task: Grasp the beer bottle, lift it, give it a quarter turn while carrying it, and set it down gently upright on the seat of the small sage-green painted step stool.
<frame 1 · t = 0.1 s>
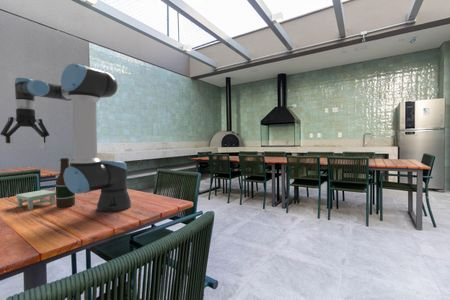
hand: (27, 149, 121), 28 cm above the table, fingers open, 13 cm apart
stool: (36, 205, 116), on the table
beer bottle: (65, 206, 116), on the table
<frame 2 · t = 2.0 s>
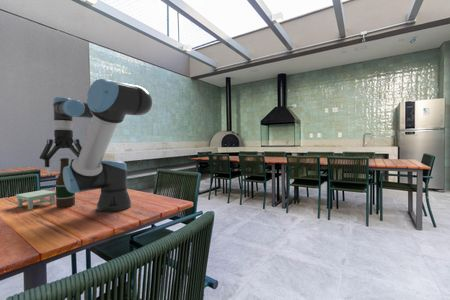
hand: (64, 172, 115), 17 cm above the table, fingers open, 13 cm apart
nothing on the table moved.
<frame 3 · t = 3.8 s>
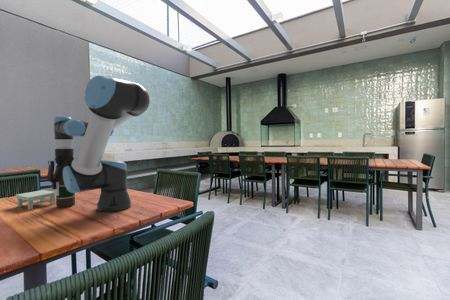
hand: (65, 193, 115), 6 cm above the table, fingers closed on beer bottle, 7 cm apart
beer bottle: (65, 206, 116), on the table, touching gripper
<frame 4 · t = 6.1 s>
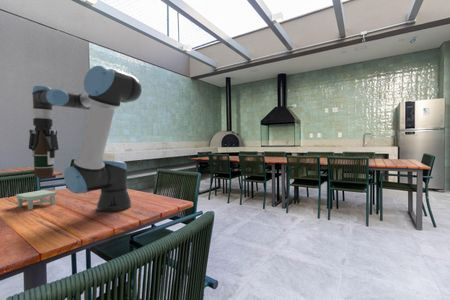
hand: (43, 163, 116), 21 cm above the table, fingers closed on beer bottle, 7 cm apart
beer bottle: (44, 176, 116), point 15 cm above the table, touching gripper
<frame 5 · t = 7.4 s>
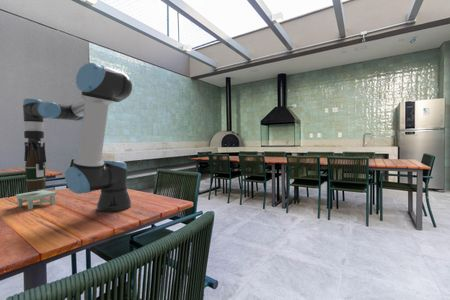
hand: (35, 176, 116), 15 cm above the table, fingers closed on beer bottle, 7 cm apart
beer bottle: (36, 188, 116), point 9 cm above the table, touching gripper
when the fingers open (14 cm above the table, at t = 8.4 s): beer bottle drops 1 cm, resting on stool.
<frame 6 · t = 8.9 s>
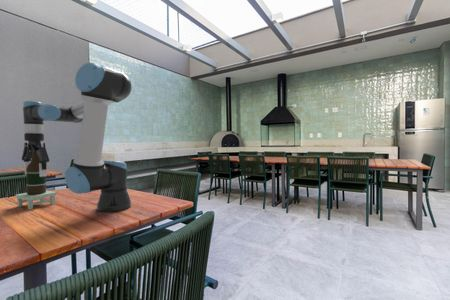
hand: (35, 175, 116), 15 cm above the table, fingers open, 13 cm apart
beer bottle: (36, 193, 116), point 6 cm above the table, touching stool
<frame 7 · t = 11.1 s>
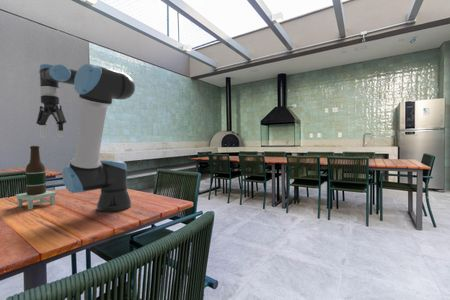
hand: (51, 137, 119), 34 cm above the table, fingers open, 13 cm apart
nothing on the table moved.
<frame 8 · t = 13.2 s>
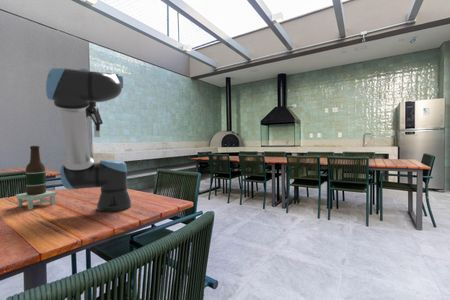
hand: (89, 136, 132), 35 cm above the table, fingers open, 13 cm apart
nothing on the table moved.
at the end: beer bottle inside the target area on the stool (0.0 cm from its centre), point 5.8 cm above the stool's base; beer bottle tilted 0°; the gripper is holding nothing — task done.
